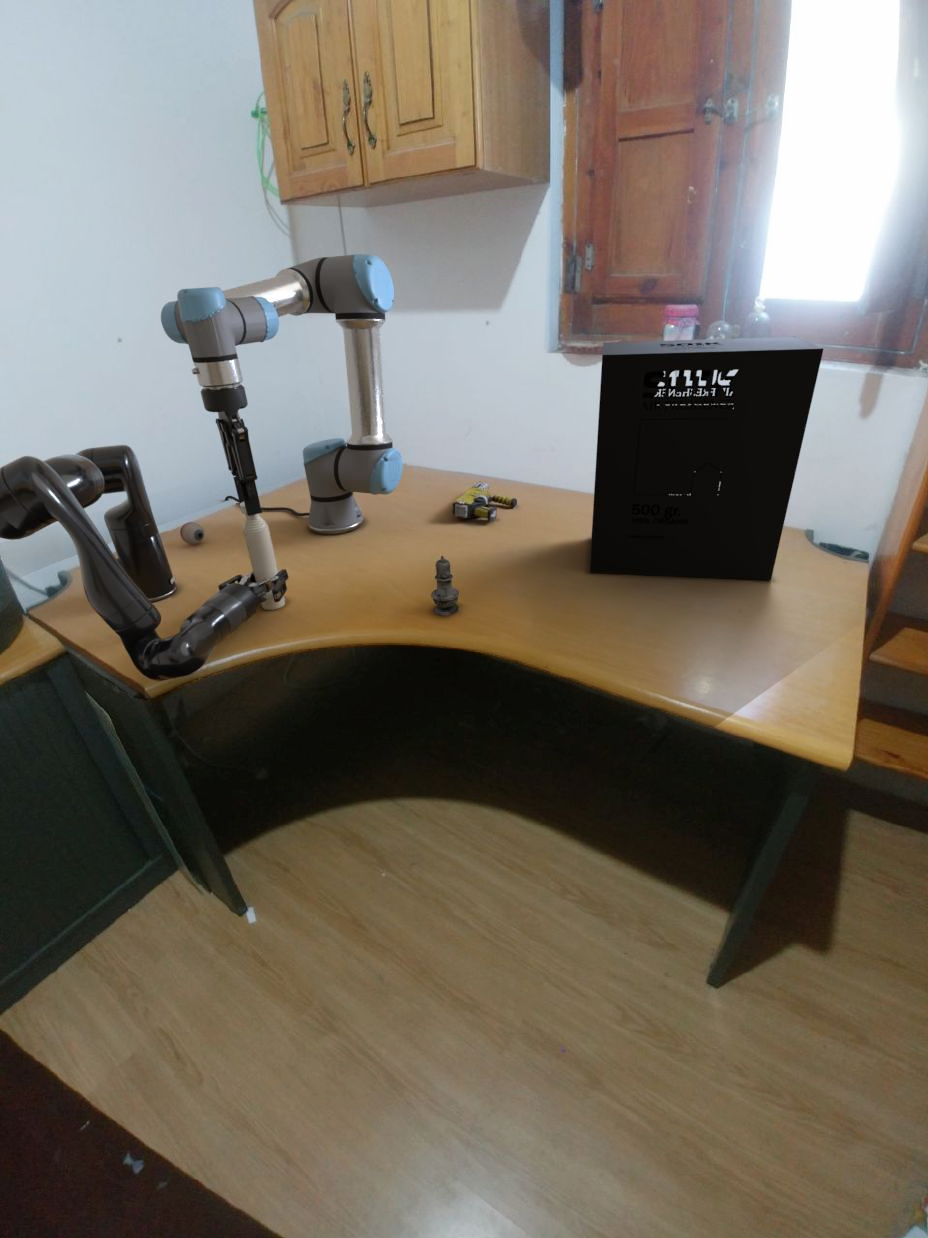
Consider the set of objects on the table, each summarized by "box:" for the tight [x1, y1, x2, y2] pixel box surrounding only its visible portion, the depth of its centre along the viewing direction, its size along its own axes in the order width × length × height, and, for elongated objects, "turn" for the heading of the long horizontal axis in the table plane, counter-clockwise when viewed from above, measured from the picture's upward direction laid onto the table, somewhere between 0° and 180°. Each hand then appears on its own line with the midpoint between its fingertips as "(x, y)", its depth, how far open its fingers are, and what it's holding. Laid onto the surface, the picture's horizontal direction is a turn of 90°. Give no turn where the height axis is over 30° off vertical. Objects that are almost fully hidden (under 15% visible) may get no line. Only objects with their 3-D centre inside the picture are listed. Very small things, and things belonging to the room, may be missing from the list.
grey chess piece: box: [430, 555, 461, 616], centre depth 121 cm, size 6×6×12 cm
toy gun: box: [451, 480, 518, 523], centre depth 174 cm, size 5×24×15 cm
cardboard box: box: [589, 336, 824, 581], centre depth 128 cm, size 38×20×45 cm, turn 78°
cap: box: [239, 502, 262, 515], centre depth 119 cm, size 4×4×2 cm
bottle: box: [242, 513, 286, 611], centre depth 124 cm, size 5×5×22 cm
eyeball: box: [179, 521, 206, 546], centre depth 161 cm, size 6×6×6 cm
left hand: (273, 572), depth 129 cm, fingers closed on bottle, 5 cm apart
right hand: (251, 510), depth 119 cm, fingers closed on cap, 4 cm apart
